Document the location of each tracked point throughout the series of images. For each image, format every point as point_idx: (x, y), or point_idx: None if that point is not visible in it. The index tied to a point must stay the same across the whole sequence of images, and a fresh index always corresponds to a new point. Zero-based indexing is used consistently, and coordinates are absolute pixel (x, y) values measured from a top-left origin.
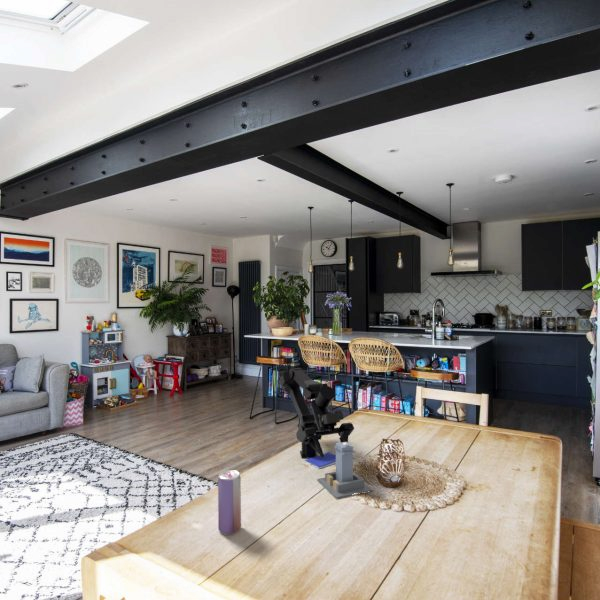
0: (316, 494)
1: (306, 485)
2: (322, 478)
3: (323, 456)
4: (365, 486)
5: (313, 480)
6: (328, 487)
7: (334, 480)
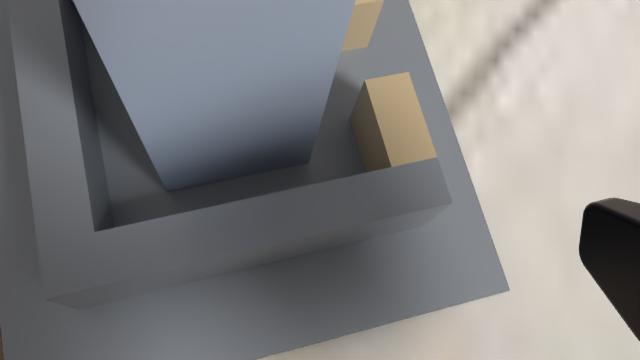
0: (527, 8)
1: None
2: (448, 291)
3: (594, 202)
4: (6, 12)
5: (543, 308)
6: (410, 65)
7: (365, 1)
